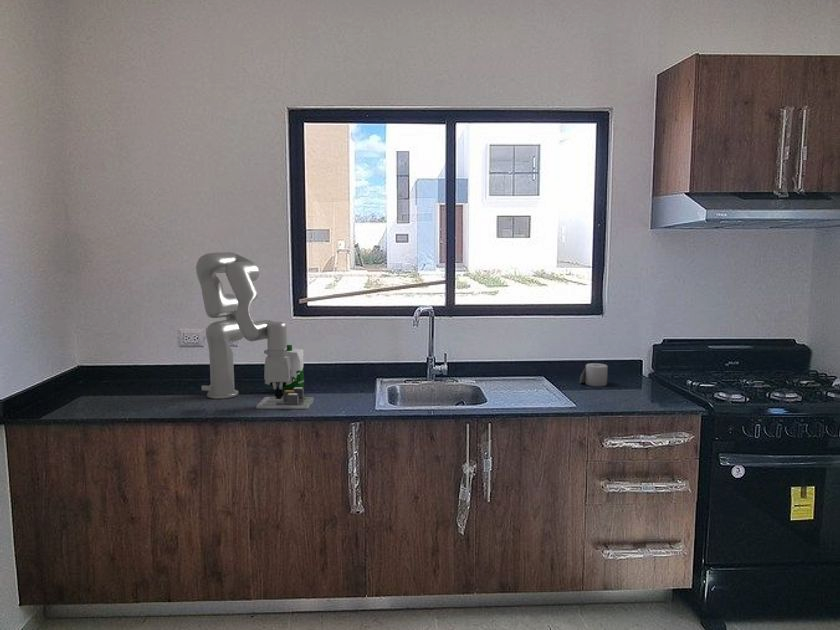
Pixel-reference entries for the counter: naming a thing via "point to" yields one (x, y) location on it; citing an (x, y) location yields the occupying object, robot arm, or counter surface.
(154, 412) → the counter surface
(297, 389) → the breaker back
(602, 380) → the toilet tissue
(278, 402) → the panel
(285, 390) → the block
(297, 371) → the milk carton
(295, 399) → the breaker front
